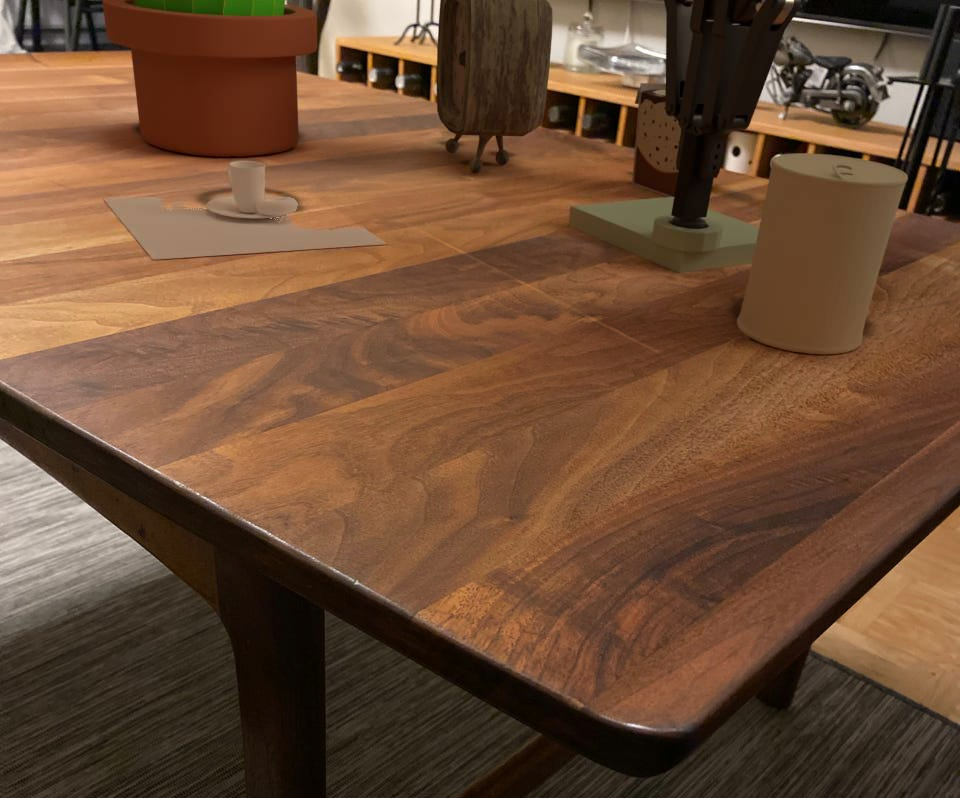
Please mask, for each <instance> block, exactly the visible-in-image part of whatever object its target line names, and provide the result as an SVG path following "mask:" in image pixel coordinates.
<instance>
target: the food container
mask: <svg viewBox="0 0 960 798" xmlns="http://www.w3.org/2000/svg"><path fill="white" fill-rule="evenodd" d="M665 93H666V83H658V82H657V83H655V82H640V85H639V89H637V93H636V96H635V100H634V105H637V117H636V118H637V119H636V128H635V129H636V131H635V142H634V143H635V144H634V153H633V167H632V179H631V181H632V182H631V185H634V186H637V187H638V188H639V187H640V188H642V189H644V190H648V191H650V192H652V193H653V192H654V193H656V194H659V195H662V196H664V197H674V195H675V189H676V183H677V177H678V172H679V170H676V159H677V153H678V147H679V141H680V135H681V128H680V126H679V123H678V120H677V119H676V118H674V117H673V116H668V115H667V114H666V110H665ZM680 100H682V99H681V98H680ZM718 116H719V115H718Z"/></svg>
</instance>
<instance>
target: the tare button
mask: <svg viewBox="0 0 960 798" xmlns="http://www.w3.org/2000/svg"><path fill="white" fill-rule="evenodd" d="M705 224H706V221H705V220H703V219H701V218H693V219H680V218H677V217H673V221H672V225H675V226H678V227H683V228H688V229H704V228H705Z"/></svg>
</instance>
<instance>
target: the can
mask: <svg viewBox="0 0 960 798" xmlns="http://www.w3.org/2000/svg"><path fill="white" fill-rule="evenodd" d="M908 179H909V177H908V174H907V173H906V172H904V171H903V170H902V169H899V168H897V167H894V166H891V165H888V164H884V163H880V162H877V161H872V160H868V159H864V158H863V159H862V158H857V157H850V156H844V155H834V154H826V153H825V154H824V153H803V152H800V153H786V154H780V155H777V156H775V157H773V158H772V159H771V162H770V173H769V178H768V182H767V189H766V194H765V198H764V203H763V207H762V208H763V209H762V213H761V219H760V223H759V226H758V227H759V232H758V236H757V241H756V246H755V251H754V255H753V260H752V263H751V264H750V269H749V274H748V278H747V284H746V287H745V292H744V297H743V301H742V303H741V304H742V305H741V307H740V308H741V309H740V312H739V315H738V317H737V318H736V326H737V328H738V330H739V331H740V332H741V333H742V334H743V335H744V336H747V337H748V338H750V339H752V340H754V341H755V342H757V343H760V344H763V345H766V346H769V347H772V348H776V349H779V350H784V351H788V352H793V353H794V352H795V353H800V354H801V353H802V354H807V355H808V354H809V355H837V354H839V355H840V354H844V353H849V352H852V351H855V350H857V349H858V348H859V347H860V346H861V345H862V343H863V340H864V339H863V334H864V329H865V324H866V320H867V317H868V314H869V309H870V306H871V303H872V299H873V295H874V292H875V288H876V285H877V281H878V277H879V273H880V270H881V266H882V263H883V259H884V256H885V253H886V250H887V245H888V242H889V240H890V239H889V238H890V236H891V232H892V229H893V225H894V222H895V219H896V215H897V212H898V209H899V206H900V202H901V198H902V196H903V193H904V189H905V187H906V183H907V182H908Z"/></svg>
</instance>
